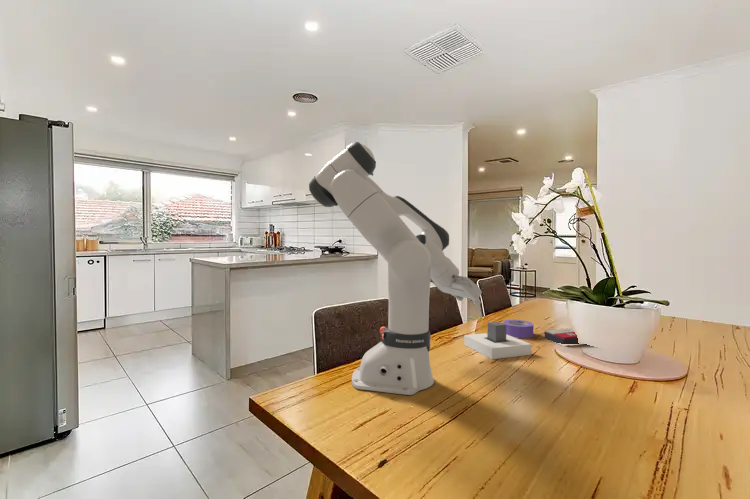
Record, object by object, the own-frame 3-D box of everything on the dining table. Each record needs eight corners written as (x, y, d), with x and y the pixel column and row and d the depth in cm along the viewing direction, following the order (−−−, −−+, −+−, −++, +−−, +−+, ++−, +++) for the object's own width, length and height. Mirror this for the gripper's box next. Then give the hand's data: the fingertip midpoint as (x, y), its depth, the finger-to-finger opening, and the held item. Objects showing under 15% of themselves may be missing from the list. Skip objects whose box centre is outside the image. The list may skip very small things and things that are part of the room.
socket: (491, 359, 113) (492, 346, 113) (464, 344, 128) (464, 333, 128) (531, 354, 118) (531, 341, 118) (500, 341, 133) (500, 329, 133)
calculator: (543, 329, 138) (576, 326, 141) (544, 340, 139) (576, 336, 141) (563, 337, 128) (598, 333, 130) (563, 349, 128) (598, 345, 131)
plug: (495, 348, 120) (495, 325, 120) (487, 344, 124) (487, 322, 124) (506, 347, 122) (506, 324, 121) (497, 343, 126) (498, 321, 126)
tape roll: (513, 339, 136) (513, 326, 136) (497, 331, 148) (497, 319, 148) (539, 338, 139) (540, 325, 139) (521, 330, 150) (521, 318, 150)
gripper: (470, 270, 107) (495, 299, 110) (435, 265, 126) (457, 290, 129) (458, 285, 105) (484, 314, 109) (424, 278, 124) (447, 303, 128)
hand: (469, 301), depth 119 cm, fingers open, 8 cm apart
